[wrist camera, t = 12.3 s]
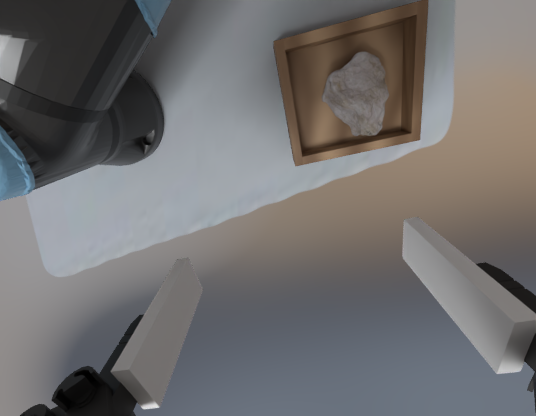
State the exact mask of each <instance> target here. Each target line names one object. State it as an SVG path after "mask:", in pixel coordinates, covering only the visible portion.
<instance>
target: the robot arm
mask: <svg viewBox="0 0 536 416" xmlns="http://www.w3.org/2000/svg"><path fill="white" fill-rule="evenodd" d="M170 2H171V0H0V201H2V200H6V199H9V198H13V197H17V196H23V195H26V194H29V193H30V192H32V190H35V189H37V188H40V187H42V186H45V185H47V184H50V183H52V182H55V181H57V180H60V179H63V178H65V177H68V176H70V175H73V174H75V173H78V172H80V171H83V170H85V169H88V168H90V167H93V166H95V165H98V164H100V165H116V166H123V165H130V164H134V163H136V162H139V161H141V160H143V159H145V158H147V157H148V156H150V155H151V154H152V153H153V152H154V151H155V150H156V148H157V147H158V145H159V143H160V141H161V138H162V134H163V116H162V111H161V107H160V105H159V102H158V100H157V98H156V96H155V94H154V92H153V90H152V89H151V87H150V86H149V85H148V83H147V82H146V81H145V80H144V79H143V78H142V77H141V76H140V75H139V74H138V73H137V72H136V71H134V70H133V69H134V67H135V65H136V64H137V62H138V60H139V59H140V57H141V55H142V54H143V52H144V50H145V49H146V47H147V45H148V44H149V42H150V40H151V39H152V37H154V38H155V37H156V36H157V33H158V31H157V27H158V25H159V23H160V21H161V19H162V18H163V16H164V14H165V12H166V10H167V8H168V6H169V4H170ZM403 259H404V260H405V261H406V262H407V264H408V265H409V266H410V267H411V269H412V270H413V271H414V272H415V274H416V275H417V276H418V277H419V279H420V280H421V281H422V282H423V283H424V285H425V286H426V287H427V288H428V290H429V291H430V292H431V293H432V295H433V296H434V297H435V298H436V300H437V301H438V302H439V303H440V304H441V306H442V307H443V308H444V309H445V311H446V312H447V313H448V314H449V316H450V317H451V318H452V319H453V320H454V322H455V323H456V324H457V325H458V327H459V328H460V329H461V330H462V331H463V333H464V334H465V335H466V336H467V338H468V339H469V340H470V341H471V343H472V344H473V345H474V346H475V347H476V349H477V350H478V351H479V352H480V354H481V355H482V356H483V357H484V359H485V360H486V361H487V362H488V364H489V365H490V366H491V367H492V369H493V370H494V371H495V372H496V373H497V374H500V373H511V372H520V371H521V368H522V366H523V364H524V362H526V363H527V364H528V365H529V366H530V367H531V368H532V369H533V370H534V371H535V373H534V375H533V377H532V379H531V381H530V383H529V386H528V389H527V390H529V391H530V392H532V391H533V389H534V397H535V411H536V296H535V295H534V294H533V293H531V292H530V291H529V290H527V289H525V288H524V287H523V286H522V285H521V284H520V283H518V282H517V281H514V280H513V278H511V277H510V276H509V275H508V274H506V273H505V272H503V271H502V270H501V269H498V268H496V267H494V266H492V265H490V264H488V263H479V264H475V263H473V262H472V261H471V260H470V259H469V258H467V257H466V256H465V255H464V254H462V253H461V252H460V251H459V250H458V249H456V248H455V247H454V246H453V245H451V244H450V243H449V242H448V241H447V240H445V239H444V238H443V237H442V236H441V235H439V234H438V233H437V232H435V231H434V230H433V229H432V228H430V227H429V226H428V225H427V224H426V223H425V222H424V221H422V220H421V219H420V218H418V217H415V218H409V219H404V229H403ZM202 290H203V288H202V286H201V284H200V282H199V280H198V278H197V275H196V273H195V271H194V269H193V267H192V265H191V262H190V260H189V258H182V259H177V261H176V262H175V264H174V265H173V267H172V269H171V270H170V272H169V274H168V275H167V277H166V279H165V281H164V282H163V284H162V286H161V287H160V289H159V291H158V293H157V294H156V296H155V298H154V299H153V301H152V303H151V304H150V306H149V308H148V309H147V311H146V313H145V314H144V315H139V316H138V317H137V318H136V319H135V320H134V321H133V322H132V323H131V325H130V326H129V328H128V329H127V331H126V332H125V334H124V336H123V337H122V339H121V340H120V342H119V345H117V347H116V349H115V350H114V352H113V353H112V355H111V356H110V358H109V360H108V361H107V363H106V364H105V366H104V367H103V369H102V371H101V372H100V374H98V373H97V372H96V371H95V370H94V369H93V368H92V367H90V366H86V367H82V368H80V369H78V370H76V371H74V372H73V373H72V374H70V375H69V376H68V377H67V378H66V379H65V380H64V381H63V382H62V383H61V384H60V385H59V386H58V388H57V389H56V391H55V392H54V395H53V397H52V401H53V402H54V403H56V404H57V405H58V406H57V407H55V408H53V409H51V410H50V409H49V408H48V407H47V406H45V405H44V404H38V405H35V406H33V407H31V408H30V409H28V410H26V411H25V412H23V413H22V414H21V415H20V416H136V415H135V414H134V412H133V410H134V408H135V405H136V403H138V404H139V405H140V406H141V407H142V408H143V409H150V408H159V407H160V406H161V403H162V400H163V398H164V395H165V392H166V389H167V387H168V384H169V381H170V378H171V376H172V373H173V370H174V367H175V364H176V362H177V359H178V356H179V353H180V351H181V348H182V345H183V343H184V340H185V337H186V334H187V331H188V329H189V326H190V323H191V320H192V318H193V315H194V312H195V310H196V307H197V304H198V301H199V299H200V296H201V293H202Z"/></svg>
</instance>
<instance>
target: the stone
mask: <svg viewBox="0 0 536 416" xmlns="http://www.w3.org/2000/svg"><path fill="white" fill-rule="evenodd" d="M388 97H389V93H388V90H387V85H386V83H385V70H384V68H383V66H381V62H380V61H379V58H378V57H376V56H375V55H372V54H370V53H367V52H366V51H365V52H359V53H356V54H355V55H354V56H353V58H352V60H351V61H350V62H349V63H348V64H346V65H345V66H344V67H343V68H342V69H340V70H336V71H334V72H332V73H331V74H330V75H329V76H328V78H327V82H326V85H325V89H324V93H323V95H322V101H323V102H326V103H327V104H328V106H329V107H330V108H331V110H332V111H333V113H334V114H335V116H337V117H338V118H340V119H341V120H342V121H343V122H344V123H346V124H348V125H349V127H350V128H351V133H352V134H353V135H354V136H358V135H360V134H361V135H362V136H363V135H368V136H372V135H377V134H378V132H379V131H380V130H381V129H382V123H383V122H382V121H383V117H384V114H385V102H386V100H387V99H388Z"/></svg>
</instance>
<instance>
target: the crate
mask: <svg viewBox="0 0 536 416" xmlns="http://www.w3.org/2000/svg"><path fill="white" fill-rule="evenodd" d="M427 16H428V0H421V1H417V2H414V3H410V4H407V5H403V6H399V7H396V8H392V9H388V10H385V11H381V12H378V13H374V14H370V15H367V16H363V17H360V18H356V19H352V20H349V21H345V22H341V23H338V24H334V25H331V26H327V27H323V28H320V29H316V30H313V31H309V32H305V33H302V34H298V35H294V36H291V37H287V38H284V39H280V40H276V41H274V53H275V58H276V64H277V70H278V75H279V81H280V87H281V92H282V98H283V103H284V109H285V115H286V120H287V126H288V132H289V137H290V143H291V149H292V154H293V160H294V163H295V166H299V165H304V164H309V163H313V162H318V161H323V160H328V159H332V158H337V157H342V156H346V155H351V154H356V153H361V152H365V151H370V150H375V149H379V148H384V147H389V146H394V145H398V144H403V143H408V142H412V141H417V140H420V132H421V115H422V99H423V82H424V66H425V49H426V33H427ZM365 51H366V52H367V53H370V54H372V55H375V56H376V57H378V58H379V61H380V62H381V66H383V68H384V70H385V83H386V85H387V90H388V93H389V97H388V99H387V100H386V102H385V114H384V117H383V121H382V122H383V123H382V129H381V130H380V131H379V132H378V134H377V135H372V136H368V135H363V136H362V135H361V134H360V135H358V136H354V135H353V134H352V133H351V128H350V127H349V125H348V124H346V123H344V122H343V121H342V120H341V119H340V118H338V117H337V116H335V114H334V113H333V111H332V110H331V108H330V107H329V106H328V104H327V103H326V102H323V101H322V95H323V93H324V89H325V85H326V82H327V78H328V76H329V75H330V74H331V73H332V72H334V71H336V70H340V69H342V68H343V67H344V66H345V65H346V64H348V63H349V62H350V61H351V60H352V58H353V56H354V55H355V54H356V53H359V52H365Z"/></svg>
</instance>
